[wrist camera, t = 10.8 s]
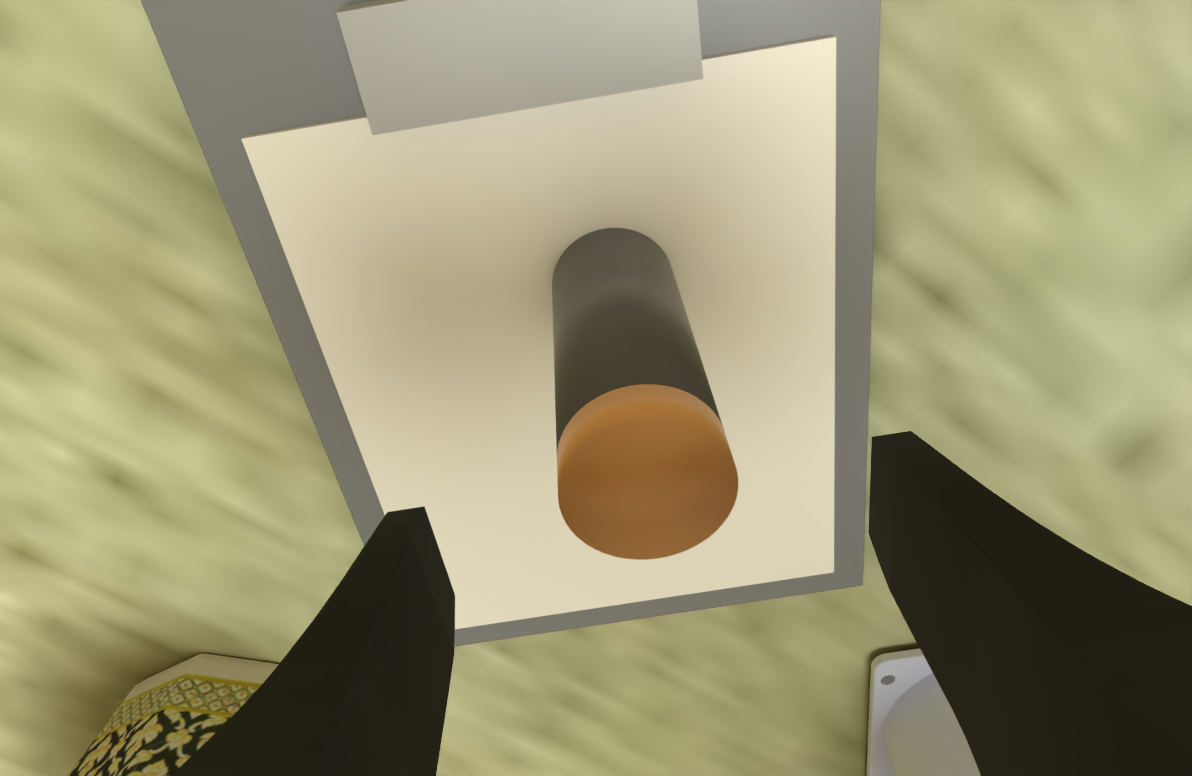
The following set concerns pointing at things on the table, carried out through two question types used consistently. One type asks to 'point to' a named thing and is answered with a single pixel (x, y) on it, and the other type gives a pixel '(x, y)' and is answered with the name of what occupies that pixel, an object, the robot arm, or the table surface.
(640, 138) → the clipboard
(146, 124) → the table surface
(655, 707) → the table surface
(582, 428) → the marker
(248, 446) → the table surface
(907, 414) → the table surface
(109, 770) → the ceramic cup
